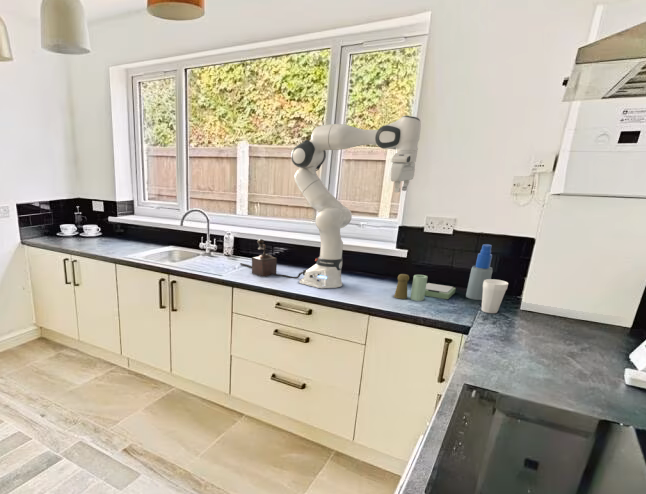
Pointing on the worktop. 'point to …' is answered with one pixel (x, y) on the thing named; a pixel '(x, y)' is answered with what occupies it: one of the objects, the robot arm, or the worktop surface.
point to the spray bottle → (480, 273)
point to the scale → (439, 291)
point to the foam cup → (493, 294)
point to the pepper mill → (263, 262)
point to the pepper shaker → (402, 286)
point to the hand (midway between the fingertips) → (400, 191)
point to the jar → (418, 287)
